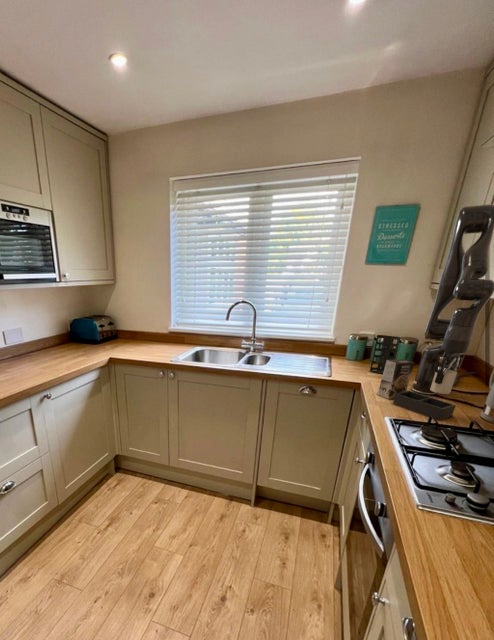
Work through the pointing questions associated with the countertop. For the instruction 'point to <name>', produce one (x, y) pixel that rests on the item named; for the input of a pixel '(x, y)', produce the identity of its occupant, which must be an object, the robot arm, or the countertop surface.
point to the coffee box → (395, 377)
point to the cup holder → (424, 405)
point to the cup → (444, 383)
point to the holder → (384, 352)
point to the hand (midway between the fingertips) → (442, 382)
